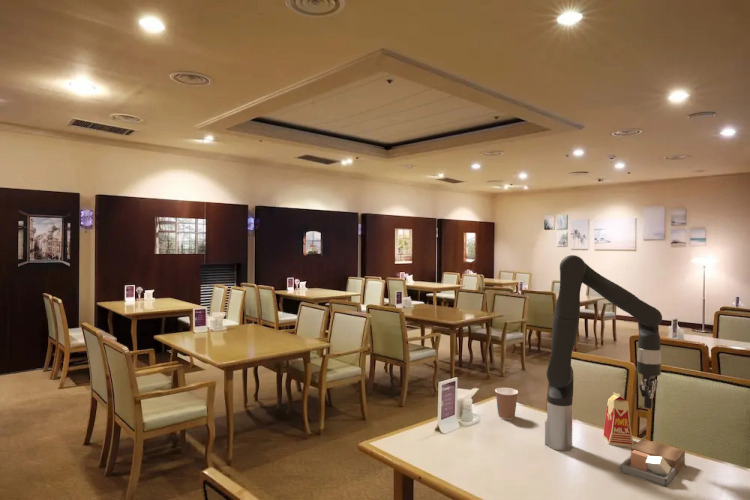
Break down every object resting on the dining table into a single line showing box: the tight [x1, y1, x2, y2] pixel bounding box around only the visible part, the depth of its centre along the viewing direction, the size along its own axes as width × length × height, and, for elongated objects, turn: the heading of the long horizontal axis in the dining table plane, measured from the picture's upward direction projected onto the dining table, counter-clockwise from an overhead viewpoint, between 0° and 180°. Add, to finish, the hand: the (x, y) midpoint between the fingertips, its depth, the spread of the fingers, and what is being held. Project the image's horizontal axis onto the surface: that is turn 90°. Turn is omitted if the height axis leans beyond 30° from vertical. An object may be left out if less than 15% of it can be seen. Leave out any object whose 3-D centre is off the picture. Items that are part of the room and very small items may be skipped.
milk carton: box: [603, 391, 635, 448], centre depth 188 cm, size 9×9×20 cm
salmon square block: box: [630, 450, 649, 471], centre depth 164 cm, size 5×5×3 cm
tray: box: [619, 455, 677, 487], centre depth 161 cm, size 14×11×2 cm
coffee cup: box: [494, 387, 519, 420], centre depth 214 cm, size 10×10×12 cm
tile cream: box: [645, 456, 671, 475], centre depth 158 cm, size 5×5×3 cm
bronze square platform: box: [630, 438, 686, 475], centre depth 169 cm, size 14×12×5 cm
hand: (648, 407), depth 171 cm, fingers closed
